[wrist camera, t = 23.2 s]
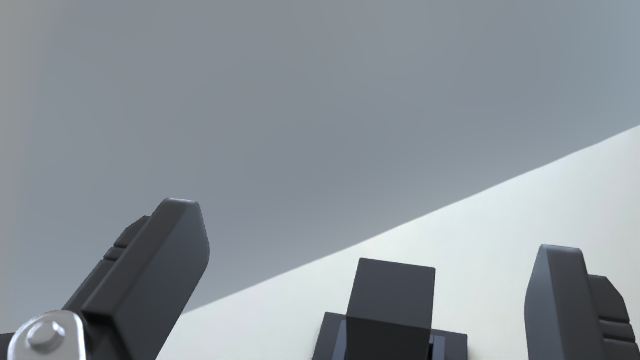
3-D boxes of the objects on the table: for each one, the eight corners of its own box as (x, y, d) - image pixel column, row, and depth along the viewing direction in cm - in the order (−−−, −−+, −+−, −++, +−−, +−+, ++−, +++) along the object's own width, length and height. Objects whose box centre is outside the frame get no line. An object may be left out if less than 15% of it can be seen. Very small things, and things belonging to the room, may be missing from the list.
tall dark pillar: (347, 412, 33) (345, 316, 28) (359, 353, 37) (359, 256, 31) (417, 426, 33) (430, 330, 27) (422, 364, 36) (435, 267, 30)
